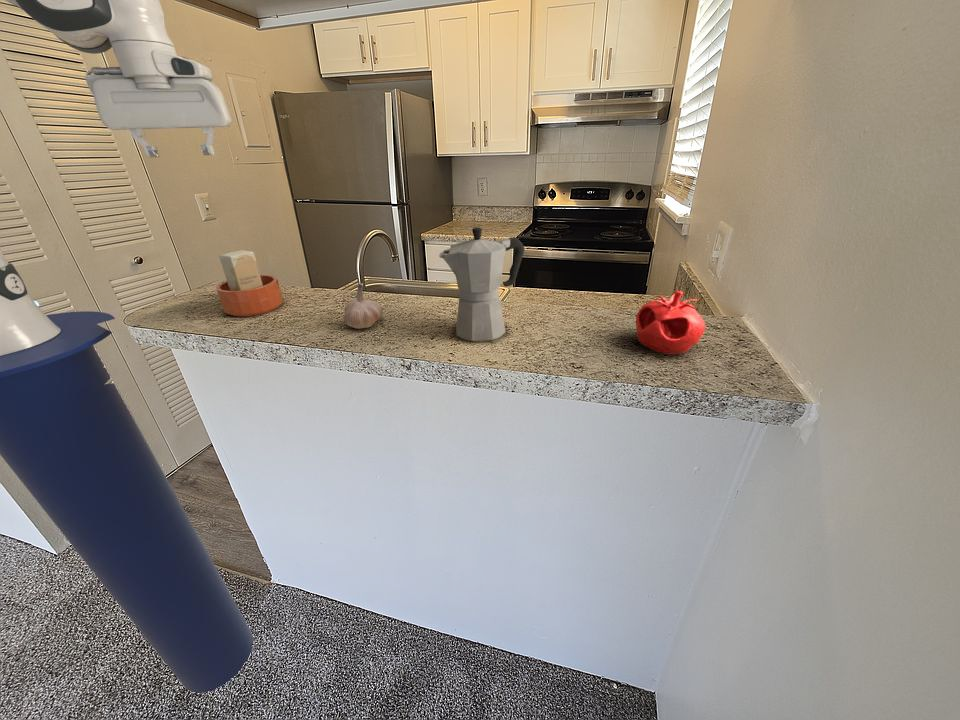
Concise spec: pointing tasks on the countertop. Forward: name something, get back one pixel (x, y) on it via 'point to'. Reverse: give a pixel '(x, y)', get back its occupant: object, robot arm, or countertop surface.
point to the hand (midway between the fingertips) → (182, 156)
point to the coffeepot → (481, 284)
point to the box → (241, 270)
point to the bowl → (251, 298)
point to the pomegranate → (669, 325)
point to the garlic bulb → (362, 311)
